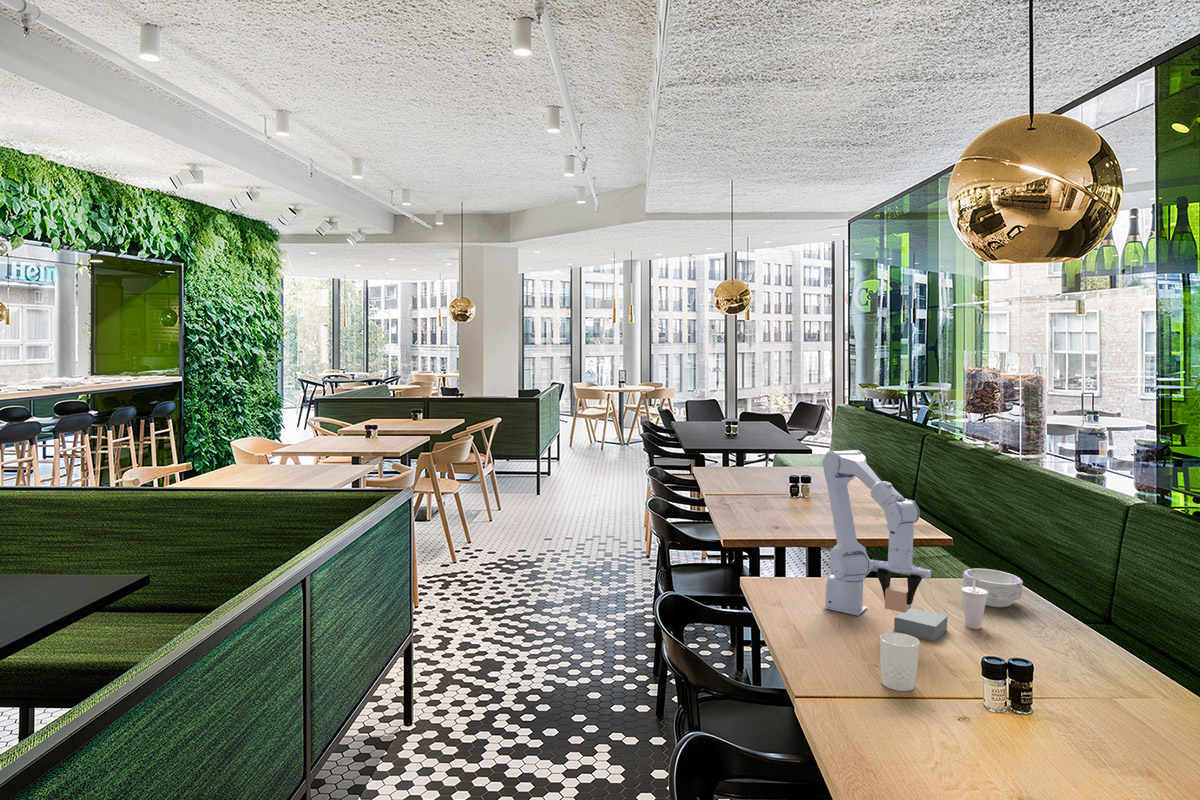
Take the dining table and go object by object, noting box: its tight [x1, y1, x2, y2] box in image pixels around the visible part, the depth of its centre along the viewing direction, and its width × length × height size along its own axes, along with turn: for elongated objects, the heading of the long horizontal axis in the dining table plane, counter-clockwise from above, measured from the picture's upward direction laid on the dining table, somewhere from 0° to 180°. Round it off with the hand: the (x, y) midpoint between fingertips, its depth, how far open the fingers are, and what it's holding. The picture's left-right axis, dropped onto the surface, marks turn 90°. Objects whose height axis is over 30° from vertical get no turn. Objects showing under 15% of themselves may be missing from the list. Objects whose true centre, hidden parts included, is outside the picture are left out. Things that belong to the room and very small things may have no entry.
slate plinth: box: [893, 607, 948, 642], centre depth 196 cm, size 10×10×4 cm
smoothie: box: [960, 573, 988, 630], centre depth 199 cm, size 6×6×14 cm
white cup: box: [879, 632, 921, 692], centre depth 163 cm, size 8×8×10 cm
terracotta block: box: [884, 583, 912, 613], centre depth 192 cm, size 5×5×5 cm
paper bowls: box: [962, 568, 1024, 608], centre depth 219 cm, size 15×15×8 cm
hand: (898, 601), depth 193 cm, fingers closed on terracotta block, 5 cm apart
